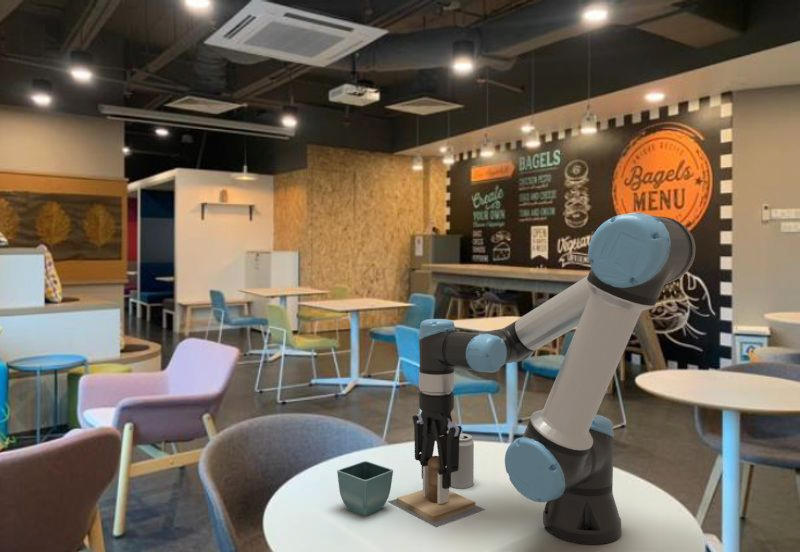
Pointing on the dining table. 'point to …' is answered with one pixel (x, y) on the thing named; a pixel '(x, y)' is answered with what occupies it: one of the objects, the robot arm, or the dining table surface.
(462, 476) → the beverage can
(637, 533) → the dining table surface
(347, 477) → the flower pot
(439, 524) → the mat
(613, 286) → the robot arm
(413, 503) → the lid
